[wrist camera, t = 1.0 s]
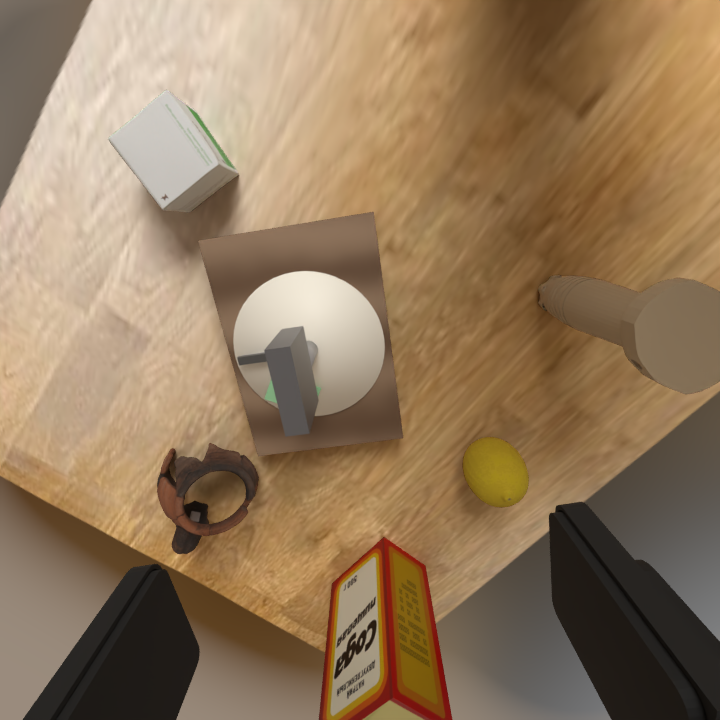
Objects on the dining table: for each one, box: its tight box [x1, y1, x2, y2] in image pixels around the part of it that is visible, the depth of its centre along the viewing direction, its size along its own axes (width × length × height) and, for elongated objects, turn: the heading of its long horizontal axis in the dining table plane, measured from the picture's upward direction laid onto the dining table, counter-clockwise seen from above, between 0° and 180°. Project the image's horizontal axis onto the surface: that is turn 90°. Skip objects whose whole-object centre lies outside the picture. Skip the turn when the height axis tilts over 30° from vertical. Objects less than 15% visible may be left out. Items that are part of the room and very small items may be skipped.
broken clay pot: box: [157, 443, 259, 554], centre depth 39 cm, size 12×10×8 cm
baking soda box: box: [319, 537, 452, 720], centre depth 37 cm, size 10×6×16 cm
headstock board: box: [198, 212, 403, 456], centre depth 34 cm, size 20×14×3 cm
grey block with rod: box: [237, 326, 319, 437], centre depth 28 cm, size 6×7×9 cm
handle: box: [538, 275, 720, 394], centre depth 27 cm, size 5×6×15 cm
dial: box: [233, 271, 385, 416], centre depth 32 cm, size 13×13×1 cm
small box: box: [108, 90, 239, 212], centre depth 28 cm, size 6×6×5 cm
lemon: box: [463, 437, 529, 507], centre depth 35 cm, size 6×6×8 cm
